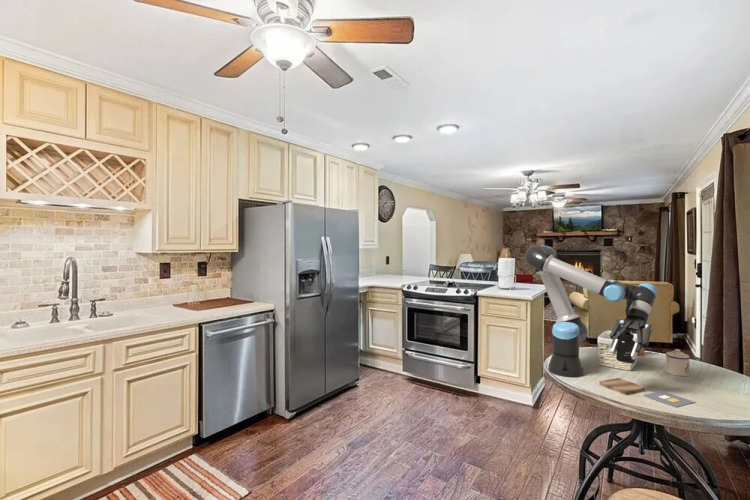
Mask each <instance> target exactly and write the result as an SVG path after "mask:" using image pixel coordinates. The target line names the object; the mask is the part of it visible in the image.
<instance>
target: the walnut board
mask: <svg viewBox="0 0 750 500" xmlns="http://www.w3.org/2000/svg"><path fill="white" fill-rule="evenodd" d="M599 386H601V387H604V388H607V389H610V390H612V391H615V392H617V393H620V394H622V395H624V396H628V395H633V394H636V393H641V392H642V393H643V392H645V391H646V386H643V385H640V384H638V383H635V382H631V381H628V380H626V379H623V378H619V377H616V378H611V379H605V380H600V381H599Z"/></svg>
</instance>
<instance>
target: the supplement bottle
mask: <svg viewBox="0 0 750 500" xmlns="http://www.w3.org/2000/svg"><path fill="white" fill-rule="evenodd" d="M620 337H621V338H619V339H618V340H617V353H616V359H617V360H618V361H620V362H624V363H634V362H635V359H632V357H631V353H632V351H633V348H634V345H635V343H636V342H635V341H634V340H633V339H634V338H633V337H634V335H633V334H631V333H626V332H621V333H620Z"/></svg>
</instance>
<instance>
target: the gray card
mask: <svg viewBox="0 0 750 500" xmlns="http://www.w3.org/2000/svg"><path fill="white" fill-rule="evenodd" d="M643 397H646V398H648V399H652V400H655V401H657V402H660V403H663V404H665V405H668V406H671V407H673V408H681V407H683V406H688V405H691V404H695V403H696V401H693V400H690V399H688V398H685V397H681V396H679V395H676V394H673V393H670V392H668V391H664V390H660V391H654V392H650V393H646V394H643Z"/></svg>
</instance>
